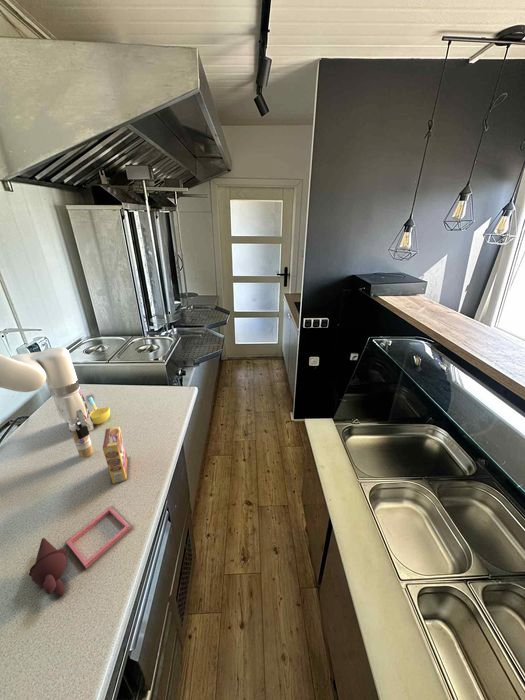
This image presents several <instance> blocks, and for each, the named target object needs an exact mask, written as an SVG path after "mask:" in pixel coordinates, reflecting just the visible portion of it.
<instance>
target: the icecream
mask: <svg viewBox="0 0 525 700" xmlns="http://www.w3.org/2000/svg"><path fill="white" fill-rule="evenodd" d="M67 554H68V553H67V550H65V548H64V547H61V548H58V549H57V548H56V547H55V546H54V545H52V544H51V542H49V540H47V538H45V537H42V538H41V540H40V543H39V548H38V551H37V555H36V559H35V563H34V564H33V565H32V566H31V567H30V569H29V572H28V576H29V577H31V581H32V582H33V583H34V584H35V585H37V586H38V587H39V588H40V590H44V592H45V595H46V594H47V595H51V594H52V593H53V592H54V593H55V596H56V598H58V599H59V598H62V597H63V596H64V594H65V589H66V588H65V587H66V586H65V584H64V583H63V581H62V580H61V577H62V576H63V573H64V572H65V570H66V568H67V563H68V562H67Z"/></svg>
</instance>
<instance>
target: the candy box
mask: <svg viewBox="0 0 525 700" xmlns="http://www.w3.org/2000/svg"><path fill="white" fill-rule="evenodd" d="M104 432H105V433H104V437H103V444H102V450H103V454H104V456H105V461H106V465H107V469H108V471H109V475H110V478H111V481H112V484H116V483H120V482H123V481H126V480H127V477H128V463H129V459H128V455H127V450H126V446H125V443H124V439H123V435H122V431H121V427H120V426H113V427H109V428H105V431H104Z"/></svg>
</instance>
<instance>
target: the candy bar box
mask: <svg viewBox="0 0 525 700" xmlns="http://www.w3.org/2000/svg"><path fill="white" fill-rule="evenodd" d="M78 392H79V394H80V396H81V399H82V402H83V404H84V407H85V410H86V413H87V418H85V420H86V422H87V428H88V431H89V432H90V431H93V430H94V429H96V427H95V424H93V421H92V418H91V416H90V413H91V412H90V411H89V408H88V404H87V403H86V399H85V397H84V394H83V393H82V392H80V391H79V390H78Z"/></svg>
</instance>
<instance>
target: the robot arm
mask: <svg viewBox="0 0 525 700" xmlns="http://www.w3.org/2000/svg"><path fill="white" fill-rule="evenodd" d="M45 383H46V385H47V387H48V390H49V393H50V396H51V397H52V398H53V401H54V405H55V408H56V411H57V414H58V416H59V417H60V418H61V419H63V420H64V421H65V422H66V423H67V426H68V427H69V424H71V425H74V424H75V427H76V433H77V436H78V439H82V438H84V437H86V436H88V435H89V436H90V431H88V428H87V422H86V420H85V418H87V413H86V410H85V407H84V404H83V402H82V399H81V396H80V394H79V392H80V391H79V390H80V389H81V386H80V384H79V379H78V377H77V373H76V370H75V367H74V363H73V361H72V356H71V354H70V351H69V349H67V348H65V347H63V346H55V347H49V348H47V349H44V350H41V351H35V352H25V353H18V354H15V355H12V356H10V357H8V356H5V355H3V354H1V353H0V389H4V390H8V391H9V390H10V391H13V392H18V393H31V392H35V391H37V390H40V389H41V388H42V387H43V386H44V385H45ZM78 391H79V392H78ZM77 418H78V419H77ZM78 422H80V424H79V425H78V424H77V423H78ZM69 431H70V433H71V434H72V432H71V430H70V429H69Z"/></svg>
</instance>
